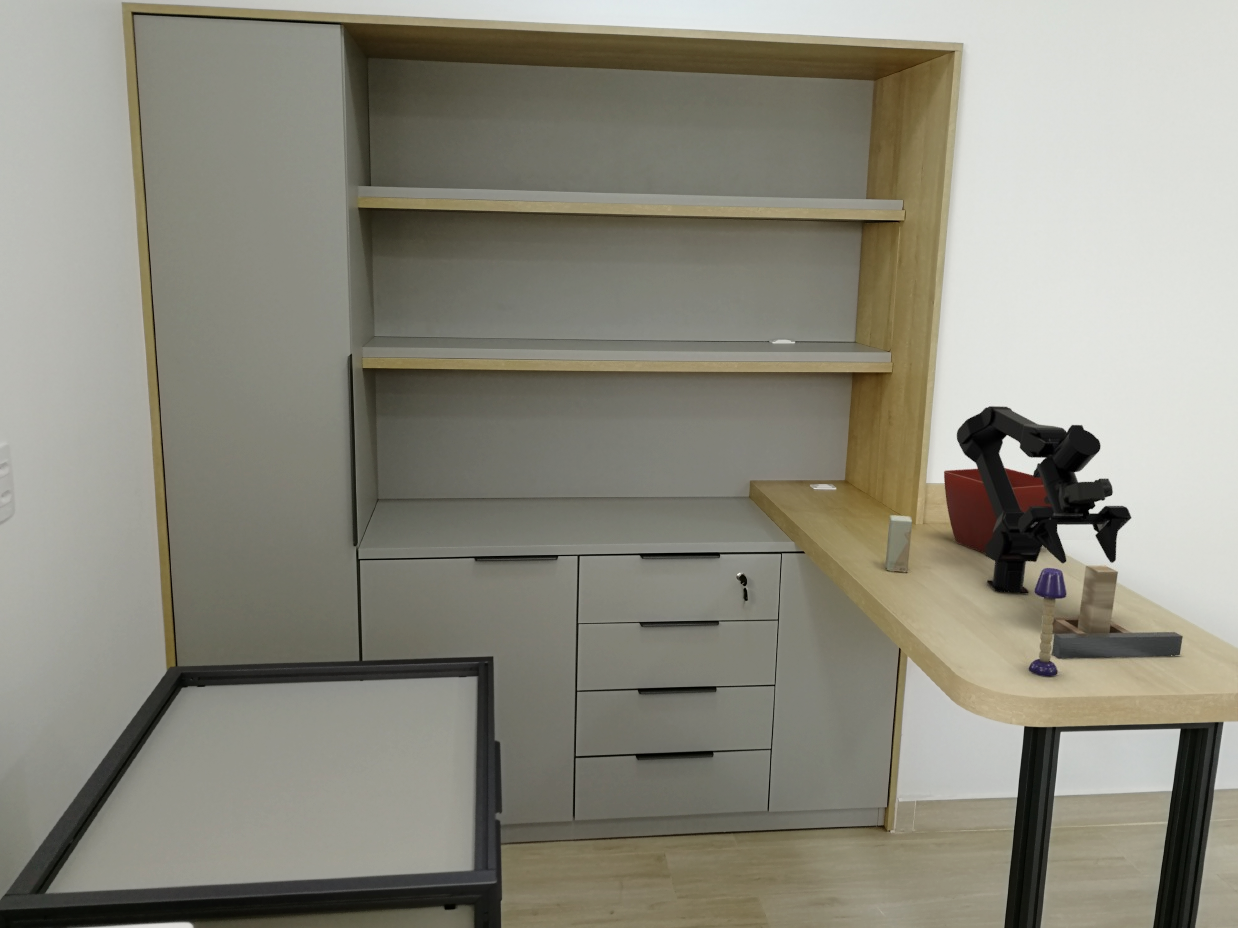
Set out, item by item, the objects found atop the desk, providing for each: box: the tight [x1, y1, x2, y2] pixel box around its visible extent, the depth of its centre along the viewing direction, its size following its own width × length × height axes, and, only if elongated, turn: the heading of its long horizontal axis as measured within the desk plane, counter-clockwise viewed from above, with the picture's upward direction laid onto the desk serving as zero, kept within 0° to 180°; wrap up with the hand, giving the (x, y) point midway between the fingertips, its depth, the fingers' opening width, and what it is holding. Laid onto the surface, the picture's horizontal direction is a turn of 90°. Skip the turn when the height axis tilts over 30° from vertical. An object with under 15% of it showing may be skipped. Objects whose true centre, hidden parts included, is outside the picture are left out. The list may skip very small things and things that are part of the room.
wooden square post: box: [1078, 564, 1119, 633], centre depth 177 cm, size 4×4×13 cm
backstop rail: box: [1051, 631, 1183, 659], centre depth 171 cm, size 2×22×4 cm, turn 98°
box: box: [885, 514, 913, 573], centre depth 216 cm, size 5×4×11 cm
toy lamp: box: [1028, 567, 1067, 677], centre depth 162 cm, size 5×5×17 cm
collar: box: [1051, 616, 1132, 634], centre depth 178 cm, size 10×10×2 cm
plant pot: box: [943, 467, 1051, 554], centre depth 235 cm, size 19×19×17 cm
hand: (1088, 561), depth 179 cm, fingers open, 9 cm apart
